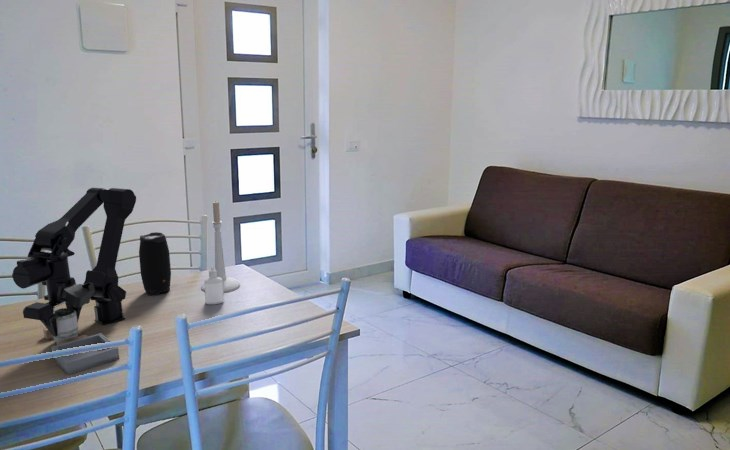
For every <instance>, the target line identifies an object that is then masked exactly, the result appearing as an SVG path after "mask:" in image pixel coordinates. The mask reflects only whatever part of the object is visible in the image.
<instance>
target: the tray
mask: <svg viewBox="0 0 730 450" xmlns="http://www.w3.org/2000/svg"><path fill="white" fill-rule="evenodd" d="M87 336H88V335H87ZM105 342H112V341H111V340H110V339H108V337H106V336H105V335H104V334H103V333H102V332H100V333H96V334H92V335H90V336H88V337H85V338H81V339H78V340H74V341H71V342H67V343H63V344H60V345H57V344H56V345H53V346H51V352H52V351H56V350H62V349H67V348H73V347H79V346H85V345H91V344H97V343H105ZM52 359H53V360H54V361H55V362H56V363H57V365H59V367H60V368H61V369H62V370H63V372H64V373H65V374H66V375H67V376H69V375H72V374H75V373H79V372H82V371H84V370H89V369H91V368H95V367H98V366H102V365H104V364H108V363H109V362H113V361H117V360H120V353H119V347H118V346H117V347H112V348H107V349H102V350H97V351H89V352H85V353H78V354H73V355H69V356H61V357H57V358H53V357H52Z"/></svg>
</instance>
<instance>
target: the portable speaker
mask: <svg viewBox="0 0 730 450" xmlns="http://www.w3.org/2000/svg"><path fill="white" fill-rule="evenodd" d="M138 247H139V248H138V257H139V267H140V268H139V270H140V276H141V281H142V285H143V288H144V291H145V293H146V295H148V296H158V295H159V294H160V293H163V292H166V293H168V292H171V279H172V271H171V269H172V268H171V258H170V257H171V255H170V250H169V244H168V241H167V238H166V235H165V234H163V232H157V231H154V232H150V233H148V234H144V235H140V236H139V246H138Z"/></svg>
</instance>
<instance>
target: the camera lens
mask: <svg viewBox="0 0 730 450" xmlns="http://www.w3.org/2000/svg"><path fill="white" fill-rule="evenodd" d="M55 313H58V314H59V315H58V317H57V318H56V323H57V336H56V337H55V336H53V335H52V336H53V338H52V339H53V341H54V342H55V343H57V342H60V341H64V340H67V339H71V338H75V337H78V336H79V324H78V323H79V321H78V322H77V315H76V311H75V310H74V309H71V308H67V307H64V308H63V307H61V308H58V309H56V310H55Z"/></svg>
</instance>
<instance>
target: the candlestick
mask: <svg viewBox="0 0 730 450" xmlns="http://www.w3.org/2000/svg"><path fill="white" fill-rule="evenodd" d="M212 211H213V212H212V213H213V221H211V223H212V224H213V225H212V227H213V228H214V269H215V270H217V277H220V278H222V281H223V294H224V293H230V292H233V291H235V290H237V289H239V288H240V287H241V283H240V281H239V280H238V279H236V278H234V277H229V276H227V275H226V267H225V258H224V248H223V241H222V231H221V228H222V223H223V221H222V220H221V217H220V216H221V214H220V202H219V201H216V200H215V201H213V202H212ZM201 290H202V291H204V292H205V286H204V283H202V285H201Z"/></svg>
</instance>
